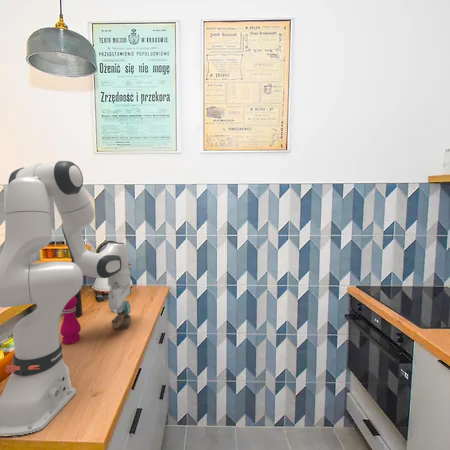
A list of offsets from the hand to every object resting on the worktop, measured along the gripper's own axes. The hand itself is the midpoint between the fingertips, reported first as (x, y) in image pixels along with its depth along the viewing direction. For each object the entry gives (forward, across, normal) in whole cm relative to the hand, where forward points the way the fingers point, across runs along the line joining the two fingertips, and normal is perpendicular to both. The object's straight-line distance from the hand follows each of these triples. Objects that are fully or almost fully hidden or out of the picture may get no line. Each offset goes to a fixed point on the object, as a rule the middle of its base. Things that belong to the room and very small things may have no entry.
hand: (120, 311), depth 135 cm
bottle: (+8, +15, +26) cm, 31 cm away
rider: (+3, +5, 0) cm, 6 cm away
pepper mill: (+8, -10, +17) cm, 21 cm away
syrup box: (+8, +20, +7) cm, 23 cm away
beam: (+7, +1, 0) cm, 8 cm away
